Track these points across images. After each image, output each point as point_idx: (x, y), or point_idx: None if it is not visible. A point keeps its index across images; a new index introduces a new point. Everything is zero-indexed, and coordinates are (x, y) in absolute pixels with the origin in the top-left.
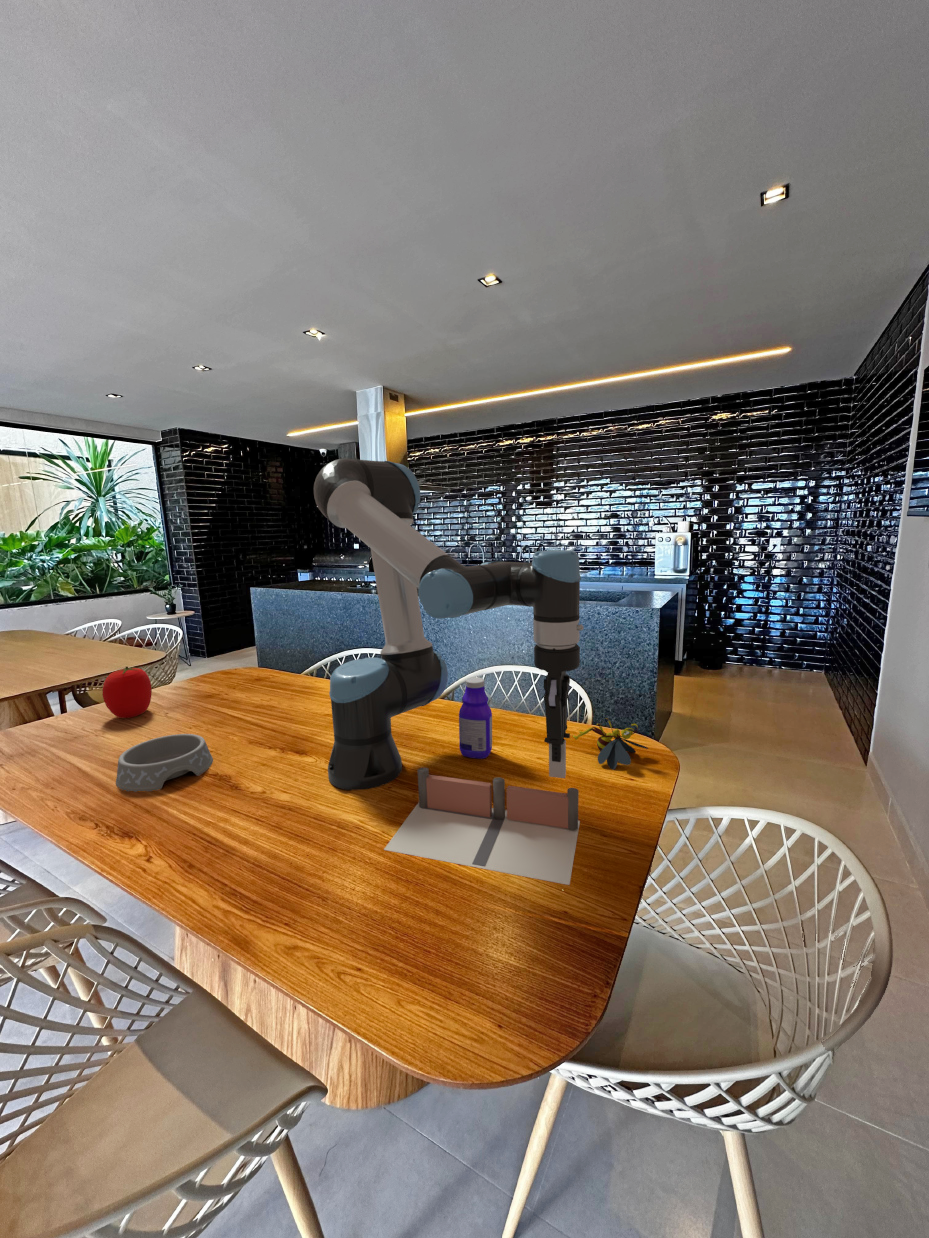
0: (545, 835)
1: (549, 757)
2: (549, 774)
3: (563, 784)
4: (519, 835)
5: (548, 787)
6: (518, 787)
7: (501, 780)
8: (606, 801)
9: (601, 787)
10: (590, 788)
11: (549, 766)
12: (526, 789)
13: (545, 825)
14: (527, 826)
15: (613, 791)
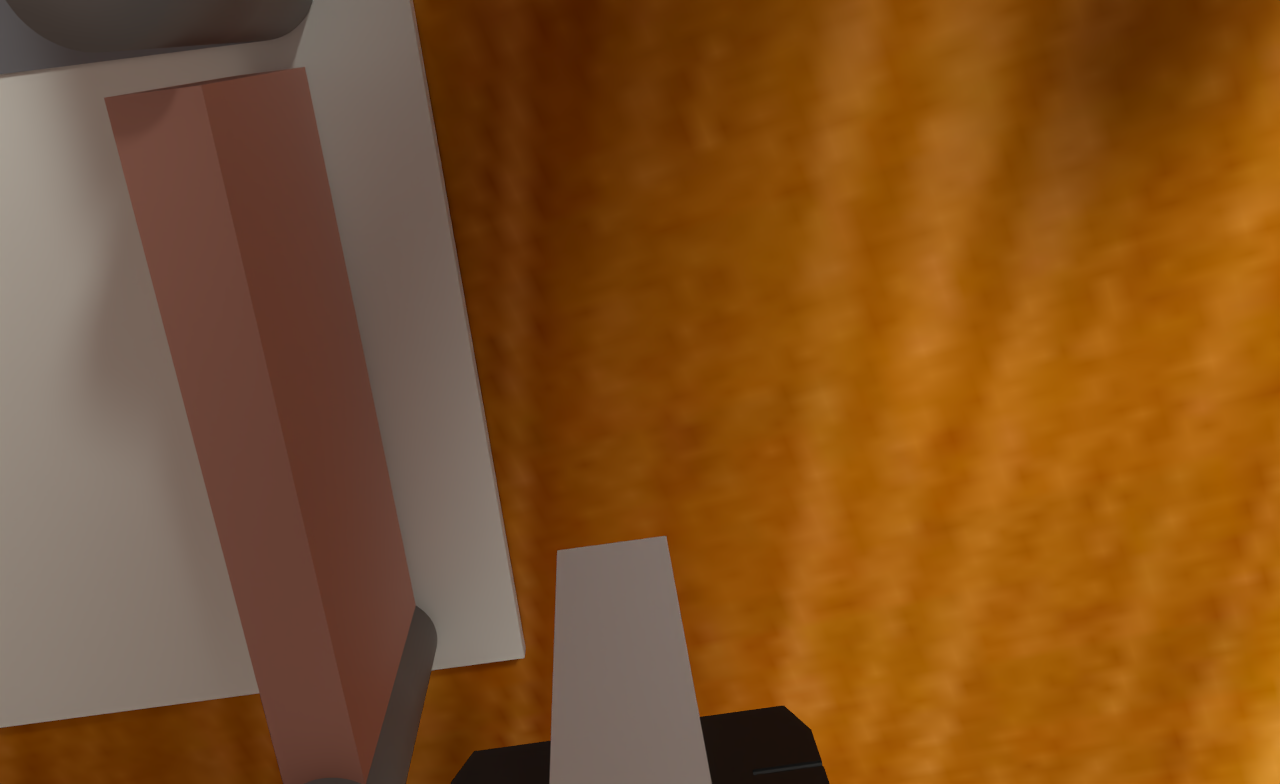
0: (195, 468)
1: (553, 702)
2: (558, 566)
3: (1109, 377)
4: (78, 267)
5: (1012, 258)
6: (221, 234)
7: (96, 2)
8: (922, 757)
9: (1140, 684)
10: (1098, 608)
11: (555, 623)
12: (225, 343)
13: None
14: None
15: (1098, 776)
